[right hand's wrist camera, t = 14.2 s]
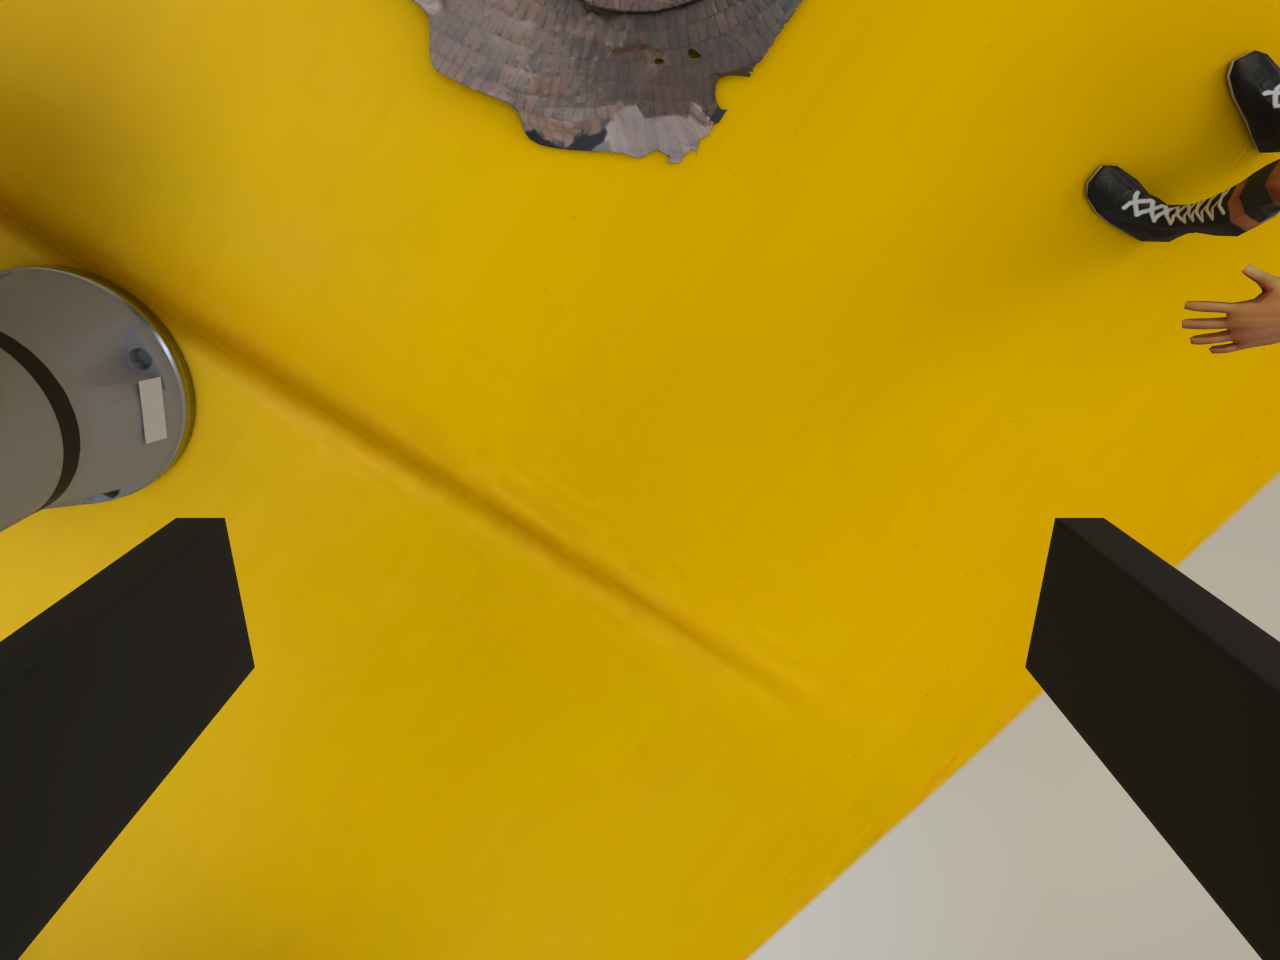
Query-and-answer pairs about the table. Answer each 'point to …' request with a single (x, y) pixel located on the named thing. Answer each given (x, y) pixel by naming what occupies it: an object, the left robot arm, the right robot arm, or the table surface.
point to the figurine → (1215, 210)
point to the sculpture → (605, 64)
